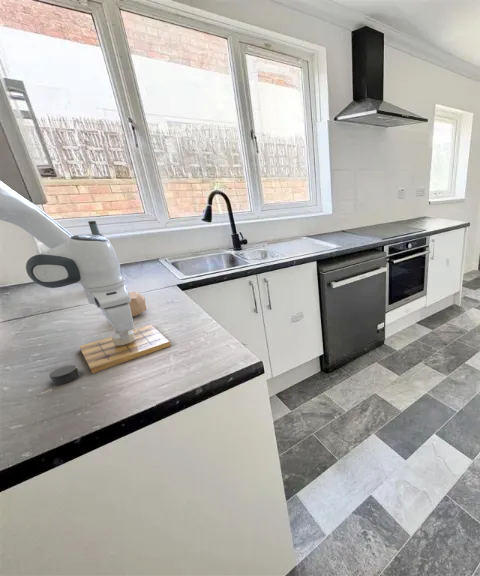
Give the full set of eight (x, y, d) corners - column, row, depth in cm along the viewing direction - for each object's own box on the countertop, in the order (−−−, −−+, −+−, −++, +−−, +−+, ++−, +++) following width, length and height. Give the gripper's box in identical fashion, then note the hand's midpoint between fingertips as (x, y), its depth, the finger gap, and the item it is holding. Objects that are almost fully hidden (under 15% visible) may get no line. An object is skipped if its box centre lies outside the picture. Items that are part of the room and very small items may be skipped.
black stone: (46, 384, 76) (42, 376, 75) (66, 372, 81) (63, 365, 80) (66, 385, 76) (62, 377, 75) (85, 373, 81) (82, 365, 80)
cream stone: (109, 345, 90) (106, 338, 89) (123, 337, 94) (121, 330, 93) (126, 345, 89) (123, 338, 89) (139, 337, 94) (137, 330, 93)
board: (80, 350, 91) (78, 345, 91) (152, 328, 104) (151, 324, 104) (92, 373, 80) (90, 368, 80) (170, 345, 93) (169, 341, 93)
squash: (113, 325, 107) (99, 302, 104) (119, 313, 123) (108, 293, 120) (149, 313, 112) (137, 290, 109) (151, 302, 128) (140, 283, 125)
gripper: (86, 287, 90) (101, 329, 95) (100, 304, 78) (117, 352, 83) (113, 282, 95) (126, 322, 100) (131, 297, 83) (145, 342, 87)
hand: (122, 336), depth 91 cm, fingers closed on cream stone, 5 cm apart
